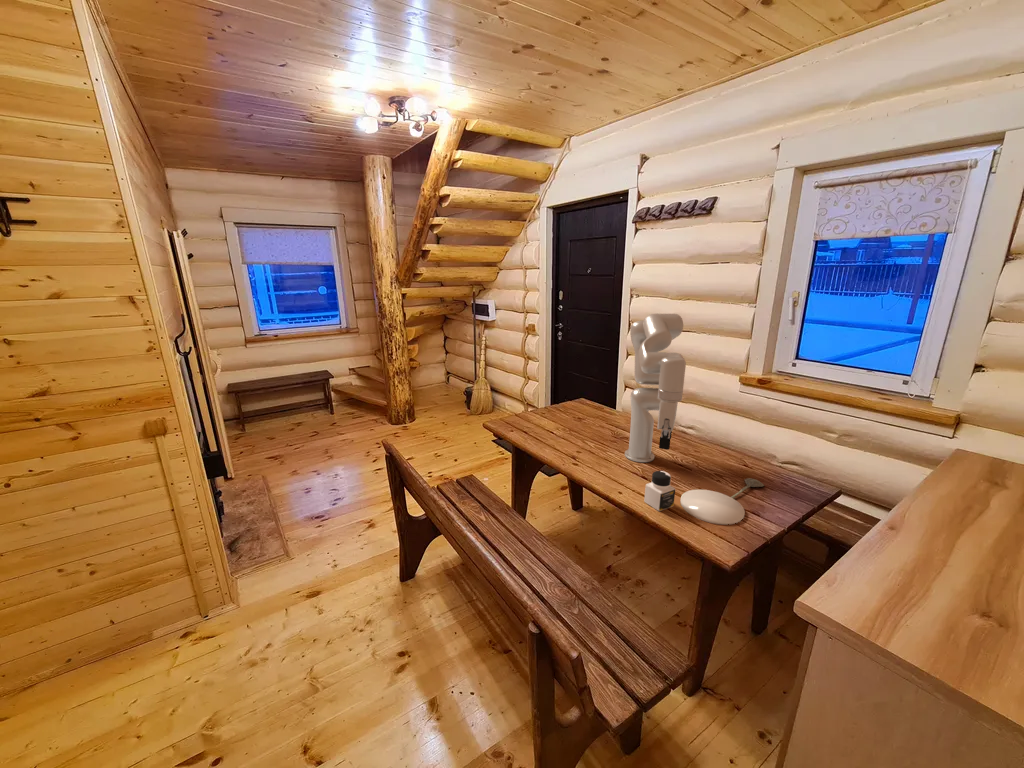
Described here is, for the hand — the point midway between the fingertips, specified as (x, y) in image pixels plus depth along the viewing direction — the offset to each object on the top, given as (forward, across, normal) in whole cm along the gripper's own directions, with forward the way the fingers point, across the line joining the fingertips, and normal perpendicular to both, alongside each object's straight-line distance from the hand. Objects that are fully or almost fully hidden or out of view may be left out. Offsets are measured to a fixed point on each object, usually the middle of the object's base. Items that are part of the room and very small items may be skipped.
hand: (665, 443), depth 136 cm
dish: (+23, -5, +17) cm, 29 cm away
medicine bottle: (+24, 0, 0) cm, 24 cm away
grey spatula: (+24, -23, +29) cm, 44 cm away
